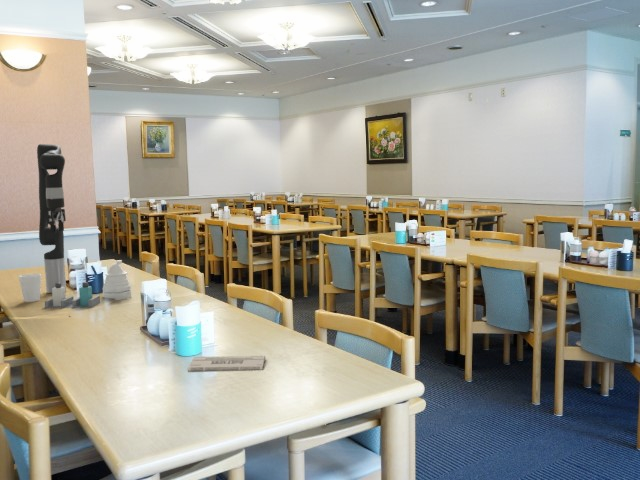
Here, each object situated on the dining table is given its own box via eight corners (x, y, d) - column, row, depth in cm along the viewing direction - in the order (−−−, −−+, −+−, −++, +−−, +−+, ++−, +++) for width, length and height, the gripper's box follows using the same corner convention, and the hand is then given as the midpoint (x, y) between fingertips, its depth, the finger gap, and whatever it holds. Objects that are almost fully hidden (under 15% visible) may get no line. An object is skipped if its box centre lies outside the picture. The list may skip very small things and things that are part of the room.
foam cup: (36, 304, 265) (34, 276, 263) (16, 304, 265) (14, 277, 264) (46, 300, 274) (45, 273, 273) (27, 300, 274) (25, 273, 273)
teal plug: (83, 303, 260) (82, 281, 259) (92, 303, 260) (91, 281, 259) (80, 305, 256) (78, 283, 255) (89, 305, 256) (87, 283, 255)
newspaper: (265, 358, 181) (265, 351, 180) (262, 375, 169) (262, 367, 168) (193, 359, 180) (192, 352, 180) (185, 377, 168) (184, 369, 168)
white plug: (57, 304, 260) (55, 282, 259) (66, 304, 260) (64, 282, 259) (53, 306, 256) (51, 284, 255) (62, 306, 256) (60, 283, 255)
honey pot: (135, 294, 284) (133, 258, 282) (124, 300, 271) (122, 262, 269) (110, 294, 285) (108, 258, 283) (98, 300, 272) (95, 262, 270)
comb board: (54, 304, 264) (53, 296, 263) (102, 303, 264) (102, 295, 264) (42, 310, 252) (41, 301, 251) (92, 309, 252) (92, 300, 252)
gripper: (53, 196, 275) (56, 230, 277) (39, 198, 261) (42, 234, 263) (69, 196, 275) (71, 230, 277) (56, 198, 261) (59, 233, 263)
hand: (57, 232), depth 270 cm, fingers open, 8 cm apart
